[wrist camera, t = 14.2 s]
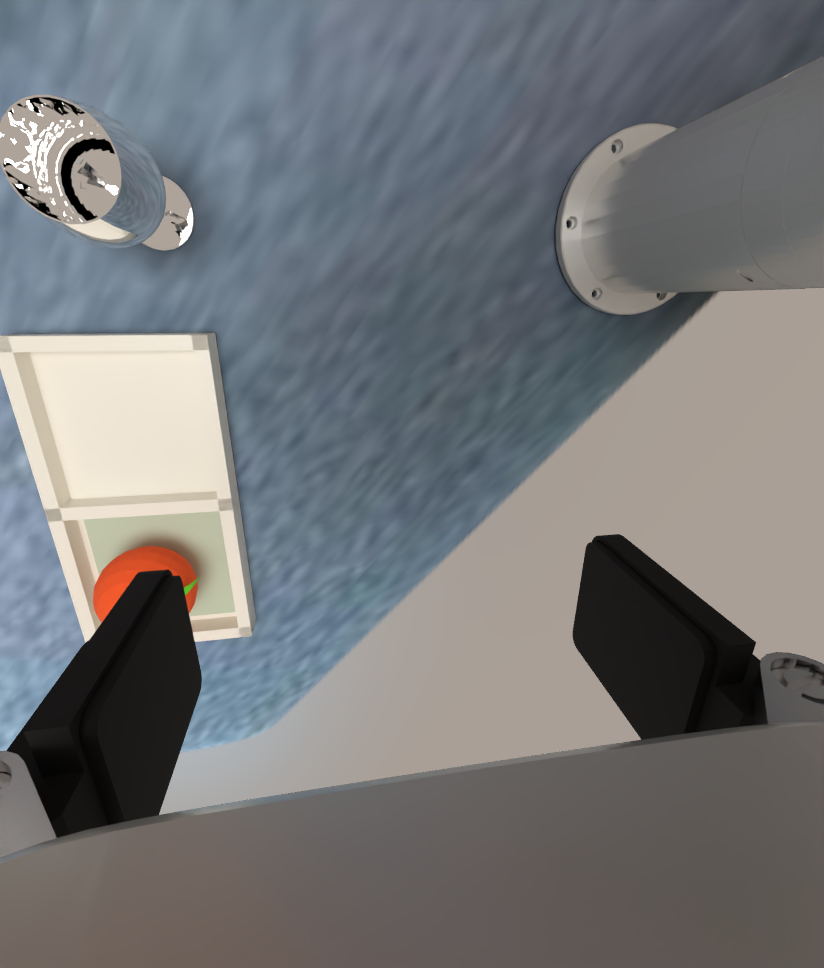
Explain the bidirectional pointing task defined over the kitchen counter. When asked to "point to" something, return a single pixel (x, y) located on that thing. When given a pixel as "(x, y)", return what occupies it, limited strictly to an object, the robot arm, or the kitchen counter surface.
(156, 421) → the two-compartment tray
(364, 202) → the kitchen counter surface
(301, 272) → the kitchen counter surface
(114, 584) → the clementine
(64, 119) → the wineglass
